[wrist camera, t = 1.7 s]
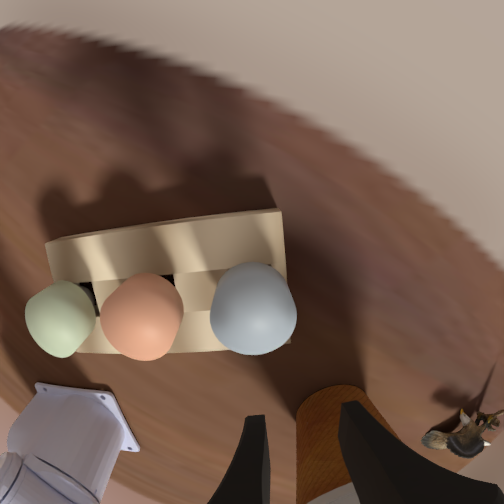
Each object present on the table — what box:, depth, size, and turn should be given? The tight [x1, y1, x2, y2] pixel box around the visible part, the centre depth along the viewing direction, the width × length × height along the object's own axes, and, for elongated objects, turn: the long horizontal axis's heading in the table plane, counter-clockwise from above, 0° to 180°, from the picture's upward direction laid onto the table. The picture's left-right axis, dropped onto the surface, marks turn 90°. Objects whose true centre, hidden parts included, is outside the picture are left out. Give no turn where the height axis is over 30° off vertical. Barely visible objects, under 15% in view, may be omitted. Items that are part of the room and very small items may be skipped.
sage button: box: [25, 280, 96, 358], centre depth 15 cm, size 4×4×4 cm
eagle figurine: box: [421, 409, 504, 459], centre depth 21 cm, size 8×7×9 cm
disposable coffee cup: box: [296, 385, 402, 504], centre depth 16 cm, size 10×10×12 cm
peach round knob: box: [100, 273, 184, 361], centre depth 15 cm, size 4×4×4 cm
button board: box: [45, 208, 291, 354], centre depth 18 cm, size 15×8×2 cm, turn 96°
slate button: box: [210, 262, 297, 355], centre depth 15 cm, size 4×4×4 cm
